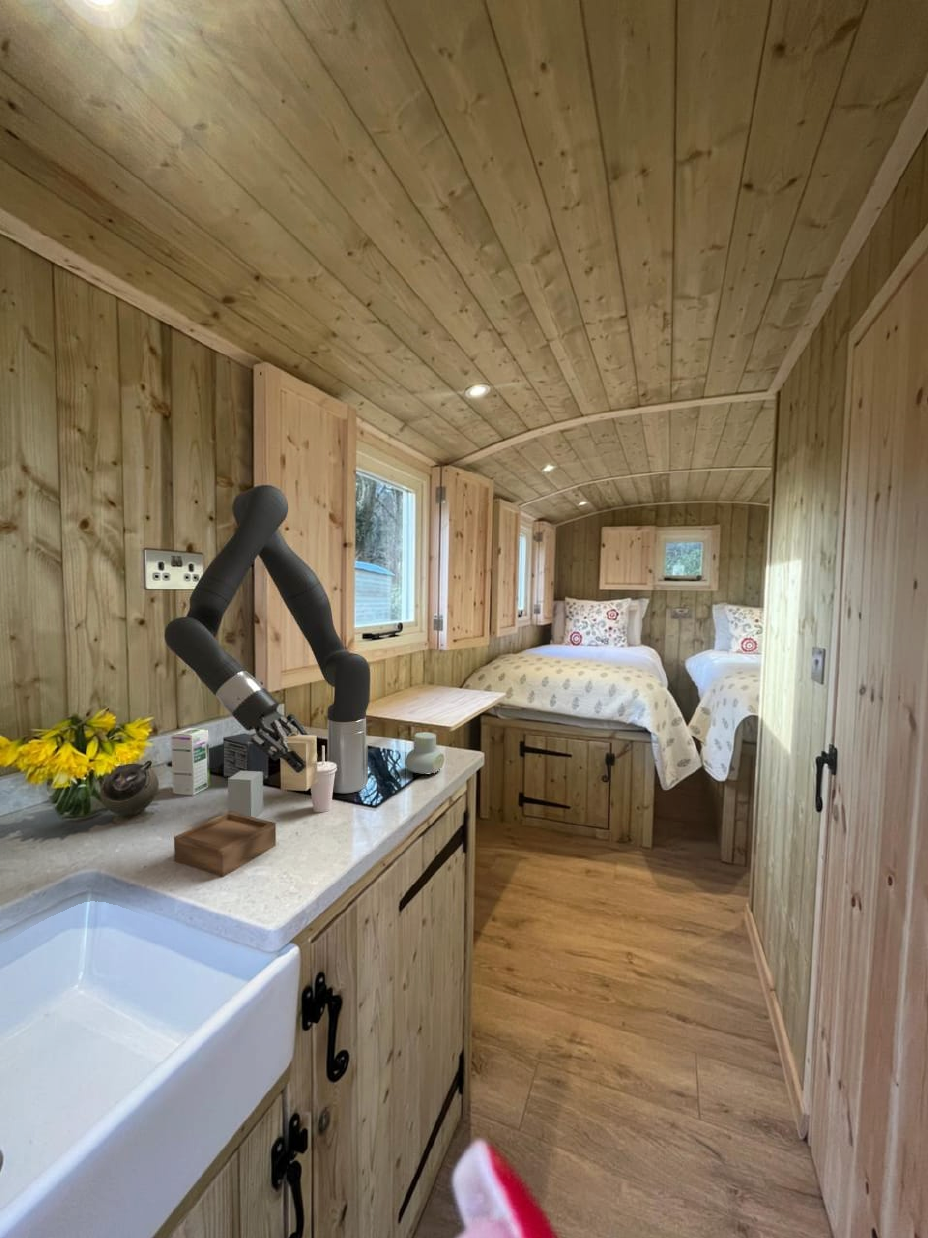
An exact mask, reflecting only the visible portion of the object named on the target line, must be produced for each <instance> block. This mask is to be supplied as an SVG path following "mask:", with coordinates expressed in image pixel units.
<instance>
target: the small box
mask: <svg viewBox="0 0 928 1238" xmlns="http://www.w3.org/2000/svg"><path fill="white" fill-rule="evenodd" d="M253 736H254V734H253V735H252V734H248V733H245V732H244V733H239V734H234V735H231V736H230V735H229V736H224V737H223V739H222V740H223V778H225V779H227V780H228V778H230V777H232V776H233V775H235V774H236V773H238V772H239V771H259V772H263V781H264V780H267V779H269V756H268V755H267V754H265V753H264V752H263V751H262V750H260V749H259V748H258V747H257V746H255V745H254V744H253V743H252V742H251V738H252V737H253ZM265 743H266V742H265Z"/></svg>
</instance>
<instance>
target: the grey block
mask: <svg viewBox="0 0 928 1238" xmlns="http://www.w3.org/2000/svg"><path fill="white" fill-rule="evenodd" d="M263 782H264V780H263V772H259V771H239V772H238V773H236V774H235V775H233V776H232V777H230V778H228V779H227V798H228V799H227V801H228V802H227V804H228V805H227V806H228V807H227V808H228V812H229V811H230V812H234V813H238V814H242V815H246V816H250V817H254V818H259V816H260V815H262V814H263V813H264V783H263Z"/></svg>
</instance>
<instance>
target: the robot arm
mask: <svg viewBox="0 0 928 1238" xmlns="http://www.w3.org/2000/svg"><path fill="white" fill-rule="evenodd" d="M232 501H233V502H232V507H231V511H232V516H233V519H234V521H235V523H236V524H237V529H236V530H235V532H234V533H233V534H232V536H231V538H230V539H229V541H228V542H226V544H225V545H224V547H223V548H222V549H221V550H220V551H219V553H217V555H216V556H215V557H214V559H212V561H211V562H210V563H209V564H208V566H207V567H206V569H205V570H204V572H203V574H202V575H201V576H200V579H199V580H198V582H197V584H196V586H195V587H194V589H193V591H192V592H191V594H190V597H189V610H188V612H187V614H186V616H181V617H180V616H179V617H176V618H174V619H173V620H171V621H170V622H169V623H167V626H166V627H165V630H164V633H163V635H164V637H163V638H164V641H165V644H166V646H167V647H168V648H169V649H170V650H171V651H172V652H173V653H174V654H175V655H176V656H177V657H178V658H179V659H181V660H182V661H183V663H184V664H186V665H187V666H189V668H190V669H191V670H192V671H194V672H195V675H197V676H198V678H199V679H200V681H201V682H202V683H203V684H204V685H205V687H206V688H208V690H210V691H211V693H212V694H213V695H214V696H215V697H216V698H217V699H218V701H219V702H220V704H221V705H222V706H223V708H224V709H225V710H227V711H228V713H229V714H230V715H231V716H232V717H233V718H234V719H235V720H236V721H237V722H238V723H239V724H240V725H241V726H242V728H244V729H245V730H246V731H247V732H250V731H253V730H254V731H255V734H253V737H252V738H251V742H252V743H253V744H254V745H255V746H257V747H258V748H259V749H260V750H262V751H263V752H264V753H265V754H267V755H268V758H270V759H272V760H273V761H277V760H278V759H281V760H283V759H284V760H285V761H286V762H287V763H288V764H289V765H290V766H291V767H292V768H293V769H294V770H295V771H296V772H297V773H299V772H301V771H302V770H303V769H304V768H305V767H306V763H305V762H304V761H303V760H302V759H301V758H300V757H299V756H298V755H297V754H296V753H295V751H294V750H293V751H292V748H291V747H290V746H289V745H288V743H287V741H288V737H289V736H296V735H309V734H308V732H307V731H306V730H305V729H304V727H303V726H302V724H301V723H300V721H299V720H298V719H297V718H296V716H295V715H294V714H293V713H288V715H287V716H284V715H283V714H282V713H280V711H279V712H278V708H279V701H278V700H277V699H276V698H275V697H274V696H273V695H272V694H271V693H270V692H269V691H268V690H267V689H266V688H265V687H264V686H263V684H262V683H261V682H260V681H259V680H258V679H257V678H256V677H254V676H253V675H251V674H250V673H249V672H248V671H247V670H246V669H245V667H243V666H242V664H240V663H239V662H238V660H236V659H235V658H234V657H233V656H232V655H231V654H229V653H228V651H226V650H225V649H224V648H223V646H222V645H221V644H220V643H219V641H218V640H217V639H216V638H217V634H218V633H219V629H220V626H221V624H222V620H223V618H224V615H225V613H226V611H227V609H229V607H230V605H231V603H232V601H233V599H234V597H235V595H236V594H237V592H238V590H239V588H240V586H241V584H242V582H243V581H244V579H245V578H246V575H247V573H248V571H249V570H250V568H251V567H252V565H253V564H254V562H255V560H256V559H257V557H259V558H260V560H261V562H262V563H263V565H264V567H265V569H266V571H267V573H268V575H269V576H270V578H271V580H272V581H273V583H274V585H275V587H276V589H277V591H278V593H279V595H280V596H281V598H282V601H283V602H284V604H285V606H286V607H287V610H288V611H289V614H291V616H292V618H293V619H294V622H295V623H296V625H297V627H298V628H299V630H300V631H301V633H302V635H303V636H304V638H305V640H306V642H308V645H309V646H310V649H311V651H312V653H313V655H314V657H315V661H316V663H317V666H318V668H319V670H320V672H321V675H322V677H323V679H324V680H325V682H326V684H328V685H330V686H331V687H332V688H334V693H333V695H334V696H333V703H332V704H331V705H329V706H328V707H327V713H326V714H327V719H326V720H327V724H326V725H327V762H333V763H335V764H336V765H337V770H336V771H335V777H334V785H333V793H334V794H335V793H337V794H351V793H355V792H360V791H362V790H363V789H365V788H366V786H367V783H369V782H368V780H369V775H368V773H369V768H368V767H369V764H368V763H369V760H368V758H369V757H368V755H369V747H368V745H367V709H368V708H369V704H370V694H371V693H370V689H371V670H370V666H369V662H368V660H367V659H366V658H365V657H364V656H362V655H361V654H358V653H352V652H349V651H348V649H347V648H346V647H345V645H344V644H343V642H342V640H341V639H340V637H339V635H338V633H337V630H336V629H335V625H334V624H335V623H334V620H333V613H332V606H331V602H330V599H329V597H328V594H327V592H326V590H325V589H324V586H323V585H322V583H321V581H320V579H319V577H318V576H317V574H316V573H315V572H314V570H313V568H311V567H310V566H309V564H307V563H306V562H305V561H304V560H303V559H302V558H301V557H300V556H299V555H298V554H296V552H295V551H293V550H292V548H291V547H290V546H289V544H288V543H287V541H286V540H285V539H284V538H285V537H284V536H283V534H282V531H281V530H280V527H281V526H282V524H283V523H284V521H286V518H287V516H288V513H289V503H288V500H287V498H286V496H285V494H284V493H283V491H281V490H280V489H279V488H278V487H276V486H273V485H272V484H271V485H270V484H261V485H257V486H253V487H251V488H250V489H246V490H245V491H242V492H240V493H238V494H237V495H236V496H235V498H234V499H233V500H232ZM265 742H266V743H265ZM281 745H283V747H282V746H281ZM291 751H292V752H291ZM318 756H319V754H318V753H317V758H318ZM281 760H280V761H281Z"/></svg>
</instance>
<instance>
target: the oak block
mask: <svg viewBox="0 0 928 1238" xmlns="http://www.w3.org/2000/svg"><path fill="white" fill-rule="evenodd" d="M287 743H288V745H289V746H290V747H291V748H292V751H293V750H294V751H295V753H296V754H297V755H298V756H299V757H300V758H301V759H302V760H303V761H304V762H305V763H306V767H305V768H304V769H303V770H302V771H301V772H299V773H297V772H296V771H295V770H294V769H293V768H292V767H291V766H290V765H289V764H288V763H287V762H286V761H285V760H284V759H283V760H281V759H280V758H279V759H280V790H281V791H282V790H283V791H301V792H304V791H305V792H307V791H308V790H309V789H311V788H310V787H311V786H312V785H313V784H315V783H316V782H317V762H318V757H317V754H318V753H317V752H318V751H317V750H318V747H317V745H318V744H317V735H312V734H311V735H310V734H308V735H296V736H289V737H288V741H287ZM281 746H282V747H283V745H281ZM292 751H291V752H292Z"/></svg>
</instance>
